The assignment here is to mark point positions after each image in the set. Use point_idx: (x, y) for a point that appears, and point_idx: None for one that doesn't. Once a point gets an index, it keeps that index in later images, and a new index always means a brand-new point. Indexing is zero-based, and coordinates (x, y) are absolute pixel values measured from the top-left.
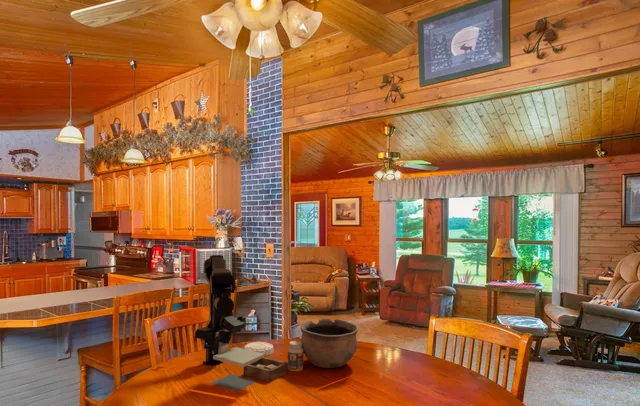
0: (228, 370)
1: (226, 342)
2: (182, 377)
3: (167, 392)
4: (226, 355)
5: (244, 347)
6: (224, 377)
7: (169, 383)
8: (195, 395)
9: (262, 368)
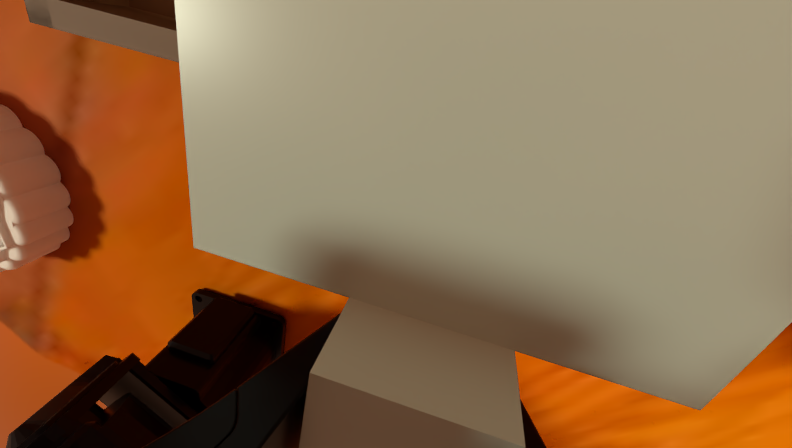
0: None
1: (282, 426)
2: None
3: (708, 405)
4: (661, 223)
5: (16, 264)
6: None
7: (570, 429)
8: None
9: None
